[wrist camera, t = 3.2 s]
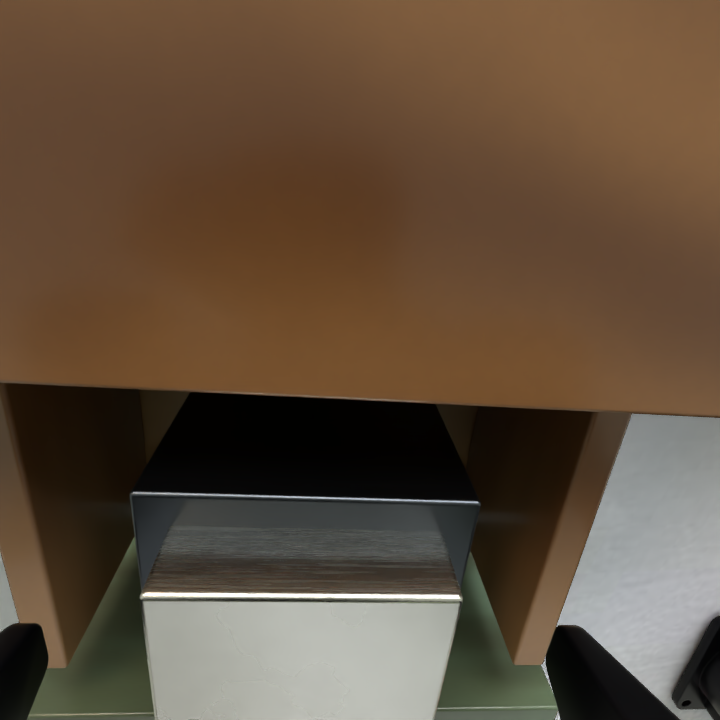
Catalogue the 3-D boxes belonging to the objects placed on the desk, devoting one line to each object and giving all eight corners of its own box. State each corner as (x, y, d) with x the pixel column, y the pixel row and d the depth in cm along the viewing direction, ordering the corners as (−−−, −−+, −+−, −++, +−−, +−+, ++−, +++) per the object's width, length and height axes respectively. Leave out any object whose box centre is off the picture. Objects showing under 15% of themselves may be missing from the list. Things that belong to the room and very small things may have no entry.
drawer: (456, 620, 20) (514, 824, 14) (136, 619, 19) (43, 843, 13) (568, 148, 13) (790, 135, 7) (67, 96, 12) (-224, 19, 6)
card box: (387, 506, 16) (442, 811, 9) (226, 502, 16) (132, 823, 8) (410, 346, 14) (512, 567, 6) (222, 335, 13) (85, 562, 6)
